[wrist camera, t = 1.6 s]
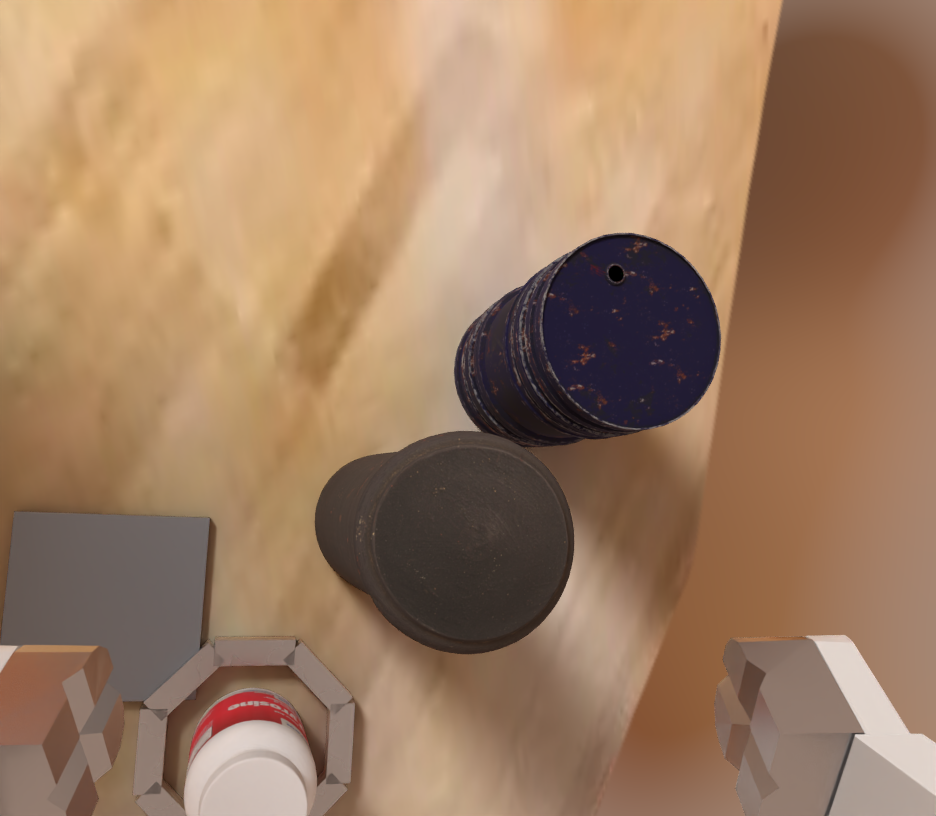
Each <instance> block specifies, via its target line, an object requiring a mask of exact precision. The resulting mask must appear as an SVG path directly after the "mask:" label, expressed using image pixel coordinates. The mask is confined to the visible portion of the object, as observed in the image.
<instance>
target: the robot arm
mask: <svg viewBox="0 0 936 816" xmlns="http://www.w3.org/2000/svg"><path fill="white" fill-rule="evenodd" d="M723 662H724V665H725V667H726V670H727V672H728V676H727V677H726V678H725V679H723V680H722V681H721V682H720V683H719V684H718V685H717V691H716V697H715V703H714V704H715V725H716V730H717V735H718V739H719V743H720V745H721V749H722V752H723V755H724V758H725V759H726V760H727V761H728V762H730V763H731V764H732V765H733V766H734V767H736V768H737V769H738V770H739V776H738V780H737V784H736V791H737V794H738V796H739V799H740V802H741V804H742V808H743V810H744V813H745V816H936V743H935V742H933V741H932V740H930V739H929V738H927V737H926V736H924V735H923V734H910V732H909V731H908V729H907V727H906V726H905V725H904V723H903V721H902V720H901V718H900V716H899V715H898V713H897V712H896V710H895V709H894V707H893V705H892V704H891V702H890V700H889V699H888V697H887V696H886V694H885V692H884V691H883V690H882V688H881V686H880V685H879V683H878V681H877V680H876V678H875V677H874V675H873V674H872V672H871V670H870V669H869V667H868V666H867V664H866V662H865V661H864V659H863V657H862V656H861V654H860V653H859V651H858V650H857V648H856V646H855V645H854V643H853V642H852V640H850V639H849V638H848V637H846V636H845V635H826V636H806V637H802V636H799V637H798V636H794V637H747V638H730V640H729V641H728V643H727V645H726V647H725V651H724V656H723ZM112 670H113V664H112V661H111V658H110V655H109V652H108V649H107V648H104V647H101V646H74V645H23V646H5V645H0V816H92V813H93V811H94V809H95V806H96V804H97V802H98V799H99V798H98V795H97V792H96V788H95V785H94V782H95V781H97V780H98V779H99V778H100V777H101V776H103V775H104V774H105V773H106V772H107V771H109V770H110V769H111V768H112V767H113V764H114V762H115V759H116V757H117V754H118V752H119V749H120V746H121V740H122V735H123V729H124V706H123V702H122V698H121V694H120V692H119V691H117V690H116V689H115V688H114V687H113V686H111V685H110V684H109V683H108V682H107V680H108V678H109V676H110V674H111V672H112Z"/></svg>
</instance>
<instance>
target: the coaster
mask: <svg viewBox="0 0 936 816" xmlns="http://www.w3.org/2000/svg"><path fill="white" fill-rule="evenodd" d="M209 523H210V518H206V517H176V516H146V515H116V514H86V513H57V512H27V511H14V518H13V527H12V537H11V546H10V555H9V565H8V574H7V584H6V593H5V603H4V612H3V621H2V631H1V640H0V645H5V646H23V645H74V646H101V647H104V648H107V649H108V652H109V655H110V658H111V661H112V664H113V670H112V672H111V674H110V676H109V678H108V680H107V682H108V683H109V684H110V685H111V686H113V687H114V688H115V689H116V690H117V691H119V692H120V694H121V698H122V702H125V701H144V700H145V699H146V698H147V697H148V696H149V695H150V694H152V693H153V692H154V691H155V690H156V689H157V688H158V687H159V686H160V685H161V684H162V683H164V682H165V681H166V680H167V679H168V678H169V677H170V676H171V675H172V674H173V673H174V672H176V671H177V670H178V669H179V668H180V667H181V666H182V665H183V664H184V663H185V662H186V661H188V660H189V659H190V658H191V657H192V656H193V655H194V654H195V653H196V652H197V651H198V650H199V649H200V639H201V626H202V613H203V601H204V588H205V575H206V562H207V549H208V536H209ZM196 691H197V688H196V689H195V690H194V691H193V692H192V693H191V694H190V695H189V696H188V697H187V698H186V699H185V700H196Z"/></svg>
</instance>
